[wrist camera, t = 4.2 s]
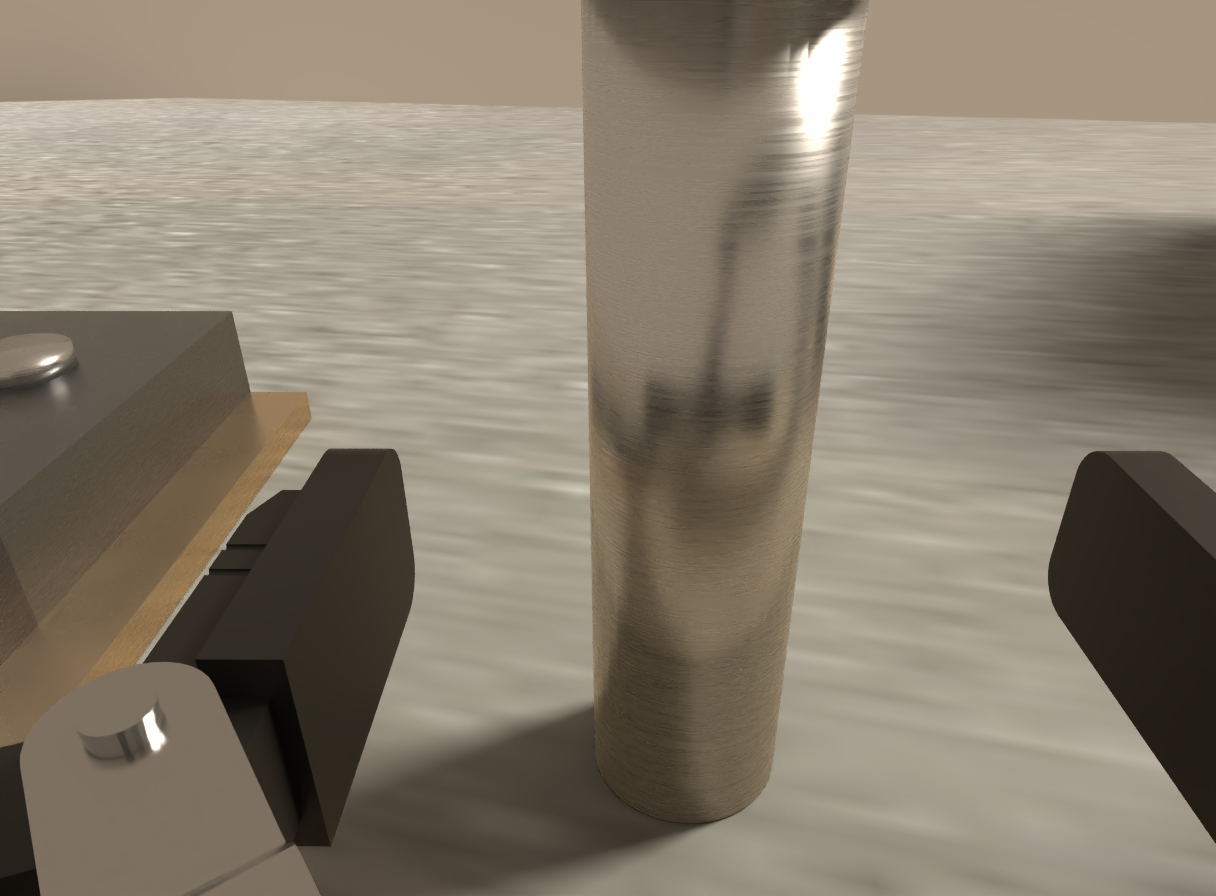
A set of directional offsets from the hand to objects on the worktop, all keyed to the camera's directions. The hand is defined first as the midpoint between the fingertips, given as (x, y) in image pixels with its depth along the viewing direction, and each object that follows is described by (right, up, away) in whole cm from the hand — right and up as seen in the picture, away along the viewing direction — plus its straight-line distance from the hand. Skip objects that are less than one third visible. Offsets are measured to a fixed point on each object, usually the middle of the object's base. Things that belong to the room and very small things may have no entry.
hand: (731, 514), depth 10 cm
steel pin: (0, -5, +7) cm, 9 cm away
